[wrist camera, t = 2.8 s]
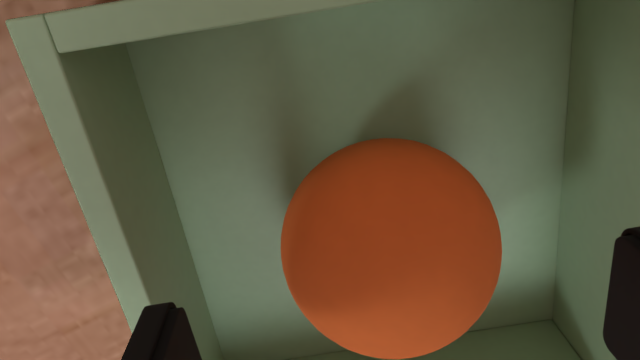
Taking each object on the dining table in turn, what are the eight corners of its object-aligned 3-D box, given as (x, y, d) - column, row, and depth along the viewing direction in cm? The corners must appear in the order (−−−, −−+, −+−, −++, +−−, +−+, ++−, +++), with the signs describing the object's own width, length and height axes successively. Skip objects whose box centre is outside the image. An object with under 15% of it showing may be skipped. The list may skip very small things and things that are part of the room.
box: (599, -79, 13) (733, -101, 9) (565, 324, 19) (637, 417, 15) (90, 5, 13) (2, 20, 9) (213, 377, 19) (192, 483, 15)
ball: (456, 97, 15) (553, 173, 9) (461, 257, 17) (539, 393, 12) (267, 128, 15) (251, 221, 9) (298, 282, 17) (301, 428, 12)
